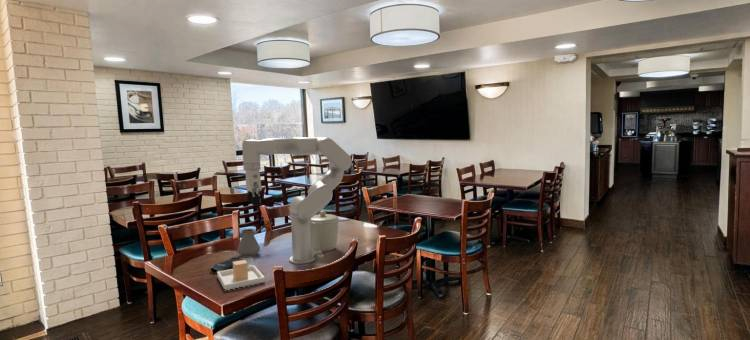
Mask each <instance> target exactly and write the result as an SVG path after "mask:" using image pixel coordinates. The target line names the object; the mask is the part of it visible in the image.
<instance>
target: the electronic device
mask: <svg viewBox="0 0 750 340" xmlns="http://www.w3.org/2000/svg"><path fill="white" fill-rule="evenodd" d="M240 260H245V258H240V257H239V256H235V257H233V256H232V257H230V259H227V260H225V261H222V262H218V263H215V264H213V265H212V266H211V267H210V269H209V270H210V272H211V274H212V273H213V274H214V273H215V274H217V272H218V271H224V270H229V269H233V262H235V261H240ZM245 261H246V260H245ZM214 270H216V272H214Z"/></svg>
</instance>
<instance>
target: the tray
mask: <svg viewBox="0 0 750 340" xmlns="http://www.w3.org/2000/svg"><path fill="white" fill-rule="evenodd" d="M247 268H248V279H245V280H240V281H235V279H234V278H233V269H229V270H224V271H218V272H217V271H216V272H217V273H216V274H217V275H216V276H217V279H218V281H219V282H220V284H221V287H222V288H223V290H224V289H225V290H224V291H225V292H227V291H226V290H228V291H231V290H230V289H233V290H236V289H235V288H238V289H240V288H239V287H243V288H246V287H245V286H248V287H250V286H249V285H253V286H255V285H254V284H258V285H260V284H259V283H263V282H265V283H266V278H265V275H264V274H262V272H261V271H260V269H258V268H257V266H256V265H253V264H252V265H247ZM263 284H264V283H263Z"/></svg>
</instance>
